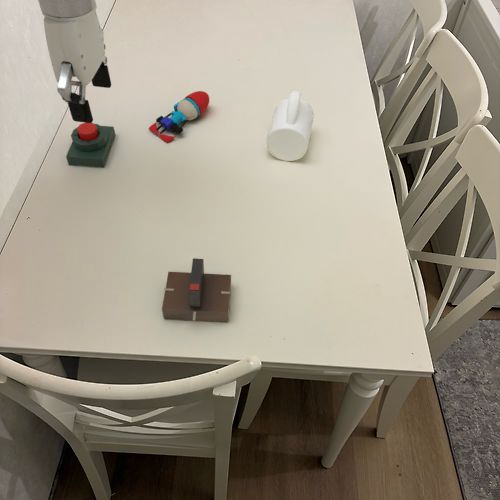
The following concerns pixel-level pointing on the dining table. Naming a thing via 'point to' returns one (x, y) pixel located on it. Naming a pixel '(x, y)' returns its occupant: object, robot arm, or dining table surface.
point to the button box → (91, 148)
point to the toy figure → (182, 114)
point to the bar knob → (196, 283)
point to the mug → (290, 128)
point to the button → (87, 131)
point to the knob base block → (212, 298)
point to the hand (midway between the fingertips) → (93, 103)
